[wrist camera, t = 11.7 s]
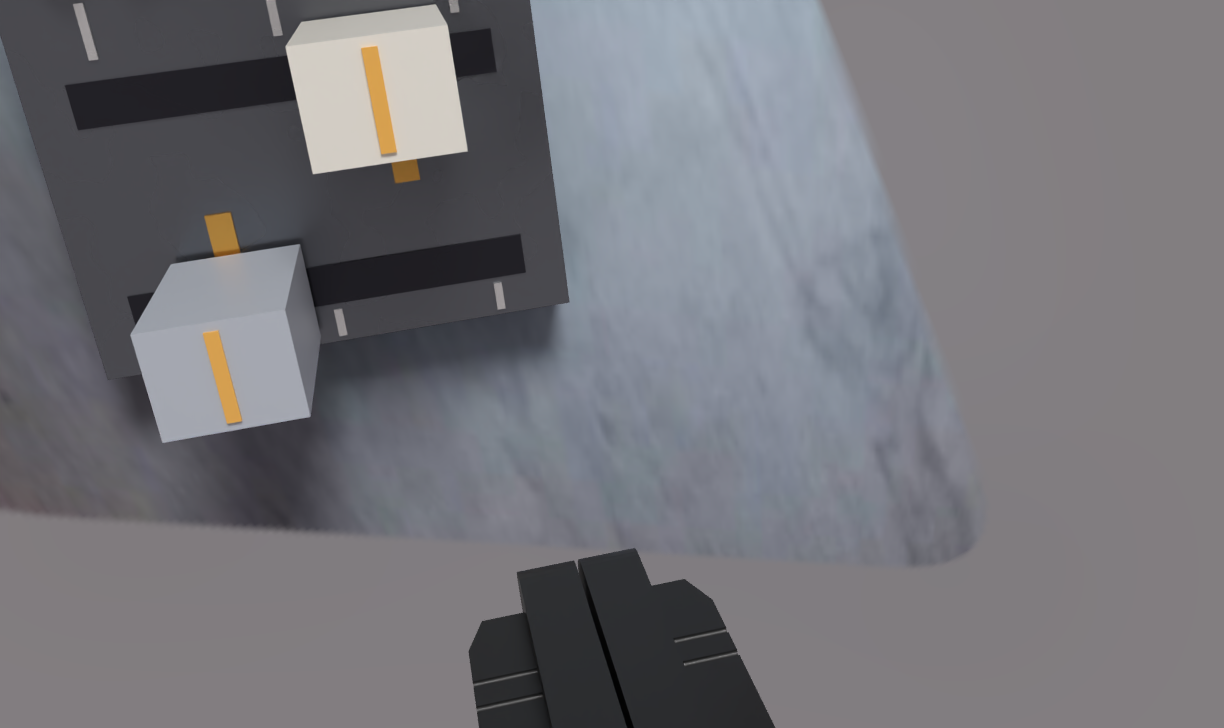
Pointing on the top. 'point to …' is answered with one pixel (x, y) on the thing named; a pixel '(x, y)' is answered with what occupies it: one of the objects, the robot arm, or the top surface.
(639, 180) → the top surface
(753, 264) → the top surface
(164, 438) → the slate fader cap
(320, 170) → the ivory cap
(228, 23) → the fader console
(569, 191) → the top surface
